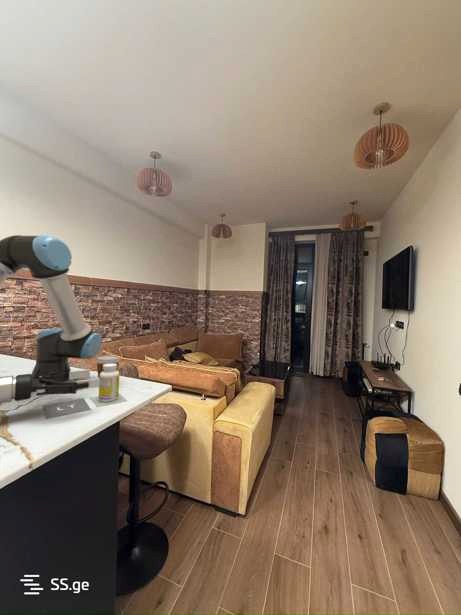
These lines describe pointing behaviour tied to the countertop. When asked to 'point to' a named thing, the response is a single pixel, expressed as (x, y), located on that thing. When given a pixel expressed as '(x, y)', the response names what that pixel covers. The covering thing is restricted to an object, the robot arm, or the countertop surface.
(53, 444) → the countertop surface
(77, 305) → the robot arm
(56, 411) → the mat
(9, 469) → the countertop surface
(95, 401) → the mat
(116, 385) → the supplement bottle
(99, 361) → the disposable coffee cup
